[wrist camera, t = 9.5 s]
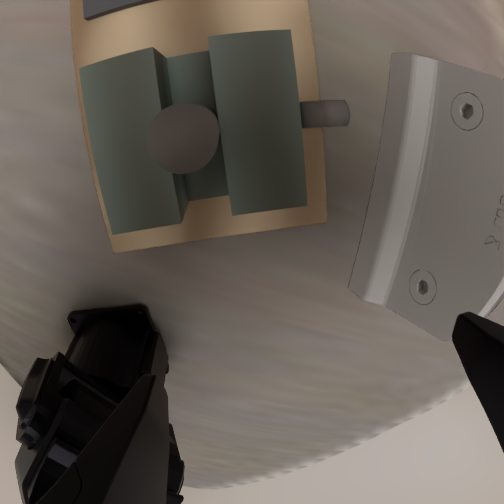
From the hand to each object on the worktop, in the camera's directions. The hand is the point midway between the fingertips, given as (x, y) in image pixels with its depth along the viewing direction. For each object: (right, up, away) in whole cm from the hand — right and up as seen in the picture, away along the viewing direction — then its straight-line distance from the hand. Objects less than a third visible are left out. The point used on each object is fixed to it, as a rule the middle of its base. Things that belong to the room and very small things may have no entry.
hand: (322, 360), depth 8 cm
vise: (-5, +15, +6) cm, 17 cm away
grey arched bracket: (+9, +8, +11) cm, 16 cm away
